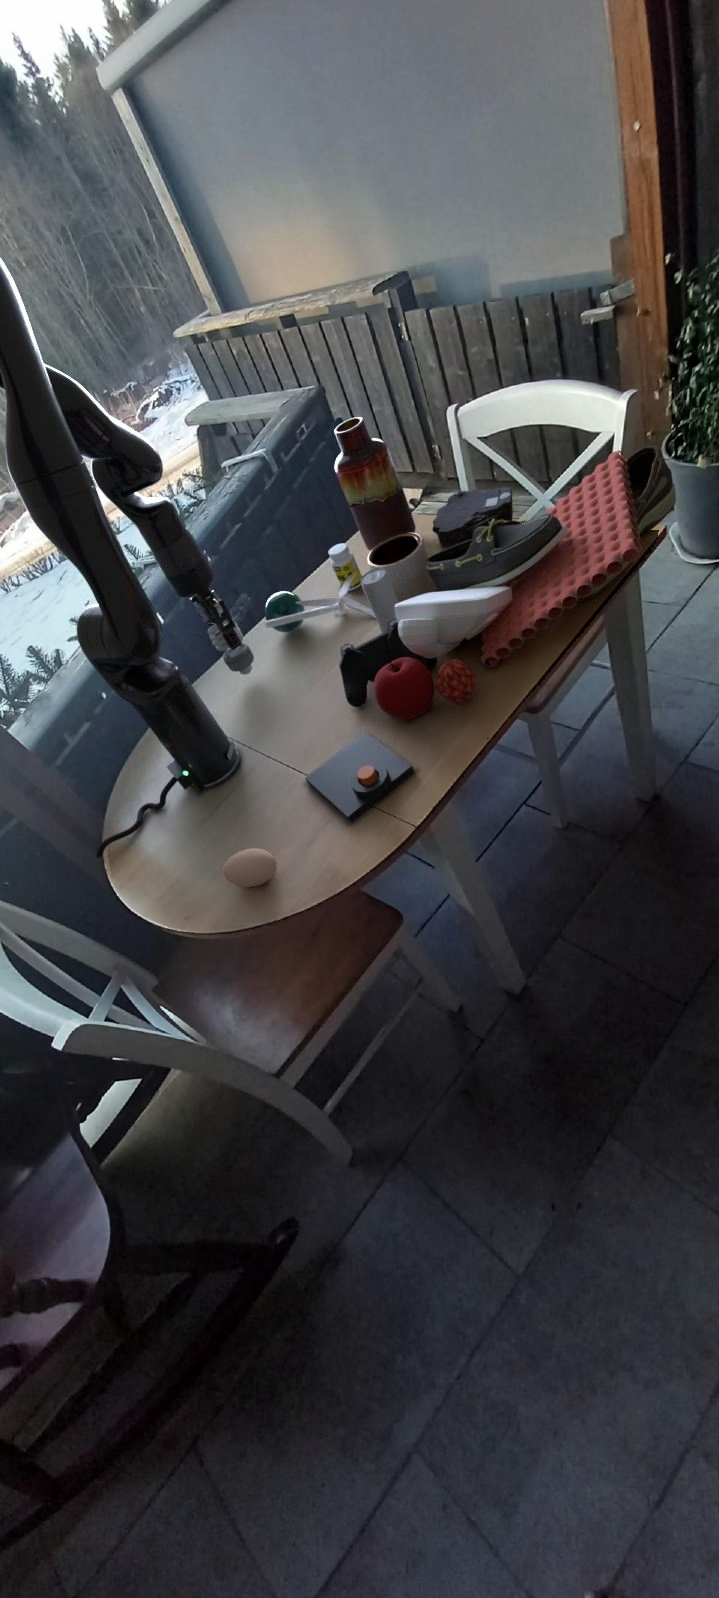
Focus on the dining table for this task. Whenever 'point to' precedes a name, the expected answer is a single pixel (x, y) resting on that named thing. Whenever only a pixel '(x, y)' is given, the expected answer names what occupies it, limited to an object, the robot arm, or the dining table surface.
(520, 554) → the boat shoe
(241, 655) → the light bulb
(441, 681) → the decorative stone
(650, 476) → the boat shoe
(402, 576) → the planter
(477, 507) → the rock sample
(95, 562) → the robot arm
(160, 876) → the dining table surface
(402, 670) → the apple
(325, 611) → the wind turbine
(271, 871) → the egg
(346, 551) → the supplement bottle
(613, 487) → the egg carton
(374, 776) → the button
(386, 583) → the beverage can
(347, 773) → the push button pad
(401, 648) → the game controller
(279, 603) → the sphere
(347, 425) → the vase
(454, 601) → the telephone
